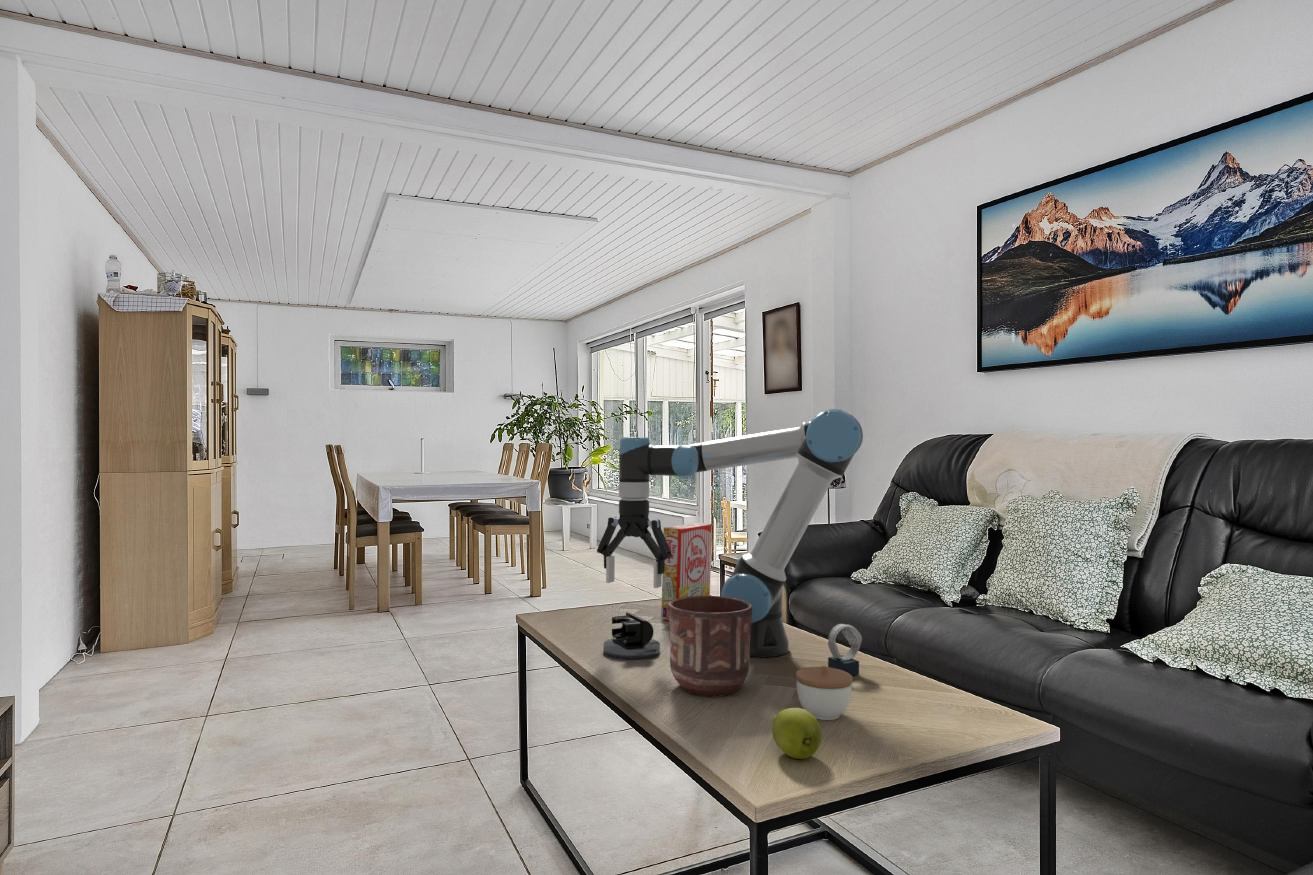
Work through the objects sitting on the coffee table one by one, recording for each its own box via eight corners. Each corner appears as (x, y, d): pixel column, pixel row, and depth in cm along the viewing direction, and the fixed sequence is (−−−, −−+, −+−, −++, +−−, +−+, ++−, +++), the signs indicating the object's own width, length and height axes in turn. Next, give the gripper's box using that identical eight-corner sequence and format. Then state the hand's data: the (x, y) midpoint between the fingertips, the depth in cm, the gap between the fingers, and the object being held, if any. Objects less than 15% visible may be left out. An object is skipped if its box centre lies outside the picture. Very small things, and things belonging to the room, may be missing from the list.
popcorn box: (678, 622, 224) (680, 528, 224) (660, 619, 227) (661, 527, 227) (710, 609, 241) (711, 522, 241) (692, 607, 244) (694, 521, 244)
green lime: (793, 771, 124) (794, 721, 124) (762, 750, 132) (762, 703, 132) (832, 763, 127) (833, 714, 127) (799, 743, 136) (800, 697, 136)
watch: (865, 673, 177) (866, 625, 177) (838, 678, 173) (839, 629, 173) (848, 667, 182) (849, 620, 182) (821, 671, 178) (822, 623, 178)
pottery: (706, 669, 178) (706, 591, 178) (767, 688, 165) (768, 603, 165) (650, 687, 166) (651, 603, 165) (712, 708, 153) (713, 617, 153)
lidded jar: (841, 728, 143) (842, 678, 143) (786, 716, 148) (787, 668, 148) (859, 711, 152) (859, 664, 152) (807, 701, 158) (808, 655, 158)
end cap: (653, 647, 189) (654, 619, 189) (627, 650, 186) (627, 622, 186) (636, 637, 198) (636, 610, 198) (610, 640, 195) (611, 613, 195)
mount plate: (669, 649, 195) (669, 641, 195) (642, 662, 182) (642, 654, 182) (622, 641, 202) (622, 633, 202) (592, 654, 189) (592, 645, 189)
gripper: (685, 500, 189) (685, 586, 189) (600, 496, 201) (599, 577, 201) (671, 502, 183) (670, 592, 183) (583, 497, 195) (583, 582, 195)
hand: (633, 584), depth 192 cm, fingers open, 13 cm apart
